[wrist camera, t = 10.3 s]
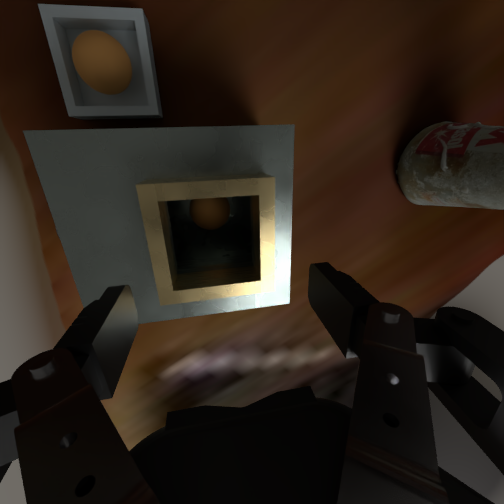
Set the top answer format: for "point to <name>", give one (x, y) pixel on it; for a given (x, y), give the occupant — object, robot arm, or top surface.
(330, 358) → the top surface
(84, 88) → the bead dish
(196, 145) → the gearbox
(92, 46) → the bead
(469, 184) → the bottle
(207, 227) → the bead
